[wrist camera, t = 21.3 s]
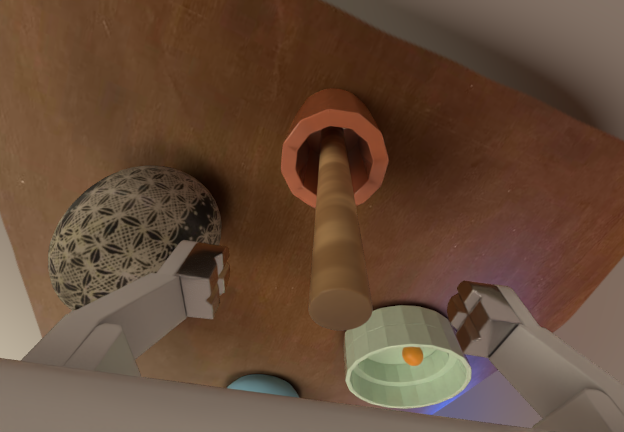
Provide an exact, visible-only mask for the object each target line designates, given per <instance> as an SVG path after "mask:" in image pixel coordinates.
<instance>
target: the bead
mask: <svg viewBox="0 0 624 432" xmlns="http://www.w3.org/2000/svg"><path fill="white" fill-rule="evenodd" d="M402 357H403V359H404V361H405V362H406V363H407V364H409V365H411V366H418V365H420V364H421V363H422V361H423V352H422V350H421V348H420V347H404V348H403V350H402Z"/></svg>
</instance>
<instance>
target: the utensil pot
mask: <svg viewBox="0 0 624 432" xmlns="http://www.w3.org/2000/svg"><path fill="white" fill-rule="evenodd" d="M329 126H334V127H341V128H343V132H344V138H345V144H346V150H347V156H348V162H349V168H350V174H351V180H352V186H353V192H354V198H355V204H356V205H360V204H362V203H364V202H365V201H366V200H367V199H368V198H369V197H370V196H371V195H372V194H373V193H374V192H375V191H376V190H377V189H378V188H379V187H380V186H381V185H382V182H383V179H384V176H385V172H386V169H387V166H388V162H389V157H388V153H387V150H386V146H385V143H384V139H383V135H382V133H381V131H380V129H379V128H378V126H377V124H376V123H375V121H374V119H373V117H372V116H371V114H370V112H369V110H368V109H367V107H366V105H364V104H363V103H362V102H361V101H360V100H359V99H358V98H357V97H356V96H355V95H353V94H352V93H351V92H349V91H345V90H341V89H325V90H322V91H319V92H317V93H315V94H313V95H312V96H310V97H309V98H307V100H306V101H305V102H304V103H303V105H302V106H301V108H300V109H299V111H298V112H297V114H296V115H295V118H294V120H293V122H292V125H291V127H290V129H289V131H288V134H287V136H286V138H285V141H284V143H283V147H282V160H281V172H282V174H283V176H284V178H285V180H286V182H287V184H288V186H289V188H290V190H291V192H292V193H293V194H294V195H295V196H297V197H298V198H299V199H301V200H302V201H304V202H305V203H307V204H308V205H310V206H311V207H313V208H316V199H317V186H318V172H319V159H320V145H321V131H322V129H324V128H326V127H329Z"/></svg>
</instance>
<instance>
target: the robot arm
mask: <svg viewBox="0 0 624 432" xmlns="http://www.w3.org/2000/svg"><path fill="white" fill-rule="evenodd" d="M228 258H229V248H228V247H226V246H220V245H214V244H208V243H202V242H194V241H188V240H183V241H181V242H180V243H179V244H178V245H177V247H176V248H175V249H174V251H173V252H172V253H171V255H170V256H169V257H168V259H167V260H166V261H165V263H164V264H163V265H162V266H161V268H160V269H159V270H158V272H157V273H150V274H148V275H146V276H144V277H142V278H140V279H138V280H136V281H134V282H132V283H130V284H128V285H126V286H124V287H122V288H120V289H118V290H116V291H114V292H112V293H109V294H107V295H105V296H103V297H101V298H99V299H97V300H95V301H93V302H91V303H89V304H87V305H85V306H83V307H81V308H79V309H77V310H75V311H73V312H71V313H69V314H67V315H65V316H64V317H63V318H62V319H61V320H60V321H59V322H58V323H57V324H56V325H55V326H54V327H53V328H52V329H51V330H50V331H49V332H48V333H47V334H46V335H45V336H44V337H43V338H42V339H41V340H40V342H38V344H37V345H36V346H35V347H34V348H33V349H32V350H31V351H30V352H29V353H28V354H27V355H26V356H25V357H24V358H23V359H22V360H21V361H18V360H11V359H2V358H0V432H624V384H622V383H621V382H620V381H618V380H617V379H615V378H614V377H612V376H611V375H610V374H608V373H607V372H606V371H604V370H603V369H601V368H600V367H599V366H597V365H596V364H594V363H593V362H592V361H590V360H589V359H587V358H586V357H585V356H583V355H582V354H581V353H579V352H578V351H576V350H575V349H574V348H572V347H571V346H569V345H568V344H567V343H565V342H564V341H562V340H561V339H560V338H558V337H557V336H556V335H554V334H553V333H551V332H550V331H549V330H547V329H546V328H542V327H540V326H539V325H538V323H537V322H536V321H535V319H534V318H533V317H532V315H531V314H530V312H529V311H528V310H527V308H526V307H525V306H524V304H523V303H522V302H521V300H520V299H519V297H518V296H517V295H516V293H515V292H514V291H513V289H511V288H510V287H508V286H502V285H494V284H493V285H491V284H485V283H478V282H470V281H463V282H461V283H460V284H459V286H458V287H457V290H458V294H456V295H454V296H452V297H451V299H450V301H449V302H448V307H447V313H448V318H449V321H450V323H451V324H452V325H453V326H454V327H455V328H456V329H457V333H456V337H457V340H458V342H459V345H460V347H461V349H462V352H463V354H467V355H474V356H480V357H486V358H489V360H490V361H491V363H492V364H493V365H494V366H495V367H496V368H497V369H498V370H499V371H500V372H501V374H502V375H503V376H504V377H505V378H506V379H507V380H508V381H509V382H510V383H511V384H512V386H513V387H514V388H515V389H516V390H517V391H518V392H519V393H520V394H521V395H522V396H523V398H524V399H525V400H526V401H527V402H528V403H529V404H530V405H531V406H532V407H533V409H534V410H535V411H536V412H537V413H538V414H539V415H540V416H541V417H542V418H543V419H542V420H541V421H539V422H538V423H536V424H535V425H534V426H533V428H524V427H517V426H509V425H502V424H494V423H486V422H479V421H472V420H464V419H456V418H449V417H441V416H434V415H426V414H419V413H411V412H404V411H396V410H389V409H381V408H374V407H366V406H358V405H351V404H343V403H335V402H328V401H320V400H313V399H305V398H297V397H290V396H282V395H275V394H267V393H260V392H252V391H244V390H237V389H229V388H222V387H214V386H207V385H199V384H191V383H184V382H176V381H169V380H161V379H154V378H146V377H141V374H140V371H139V369H138V366H137V364H136V361H135V359H136V358H138V357H139V356H140V355H141V354H143V353H144V352H145V351H146V350H148V349H149V348H150V347H151V346H152V345H154V344H155V343H156V342H157V341H159V340H160V339H161V338H162V337H164V336H165V335H166V334H167V333H168V332H170V331H171V330H172V329H173V328H175V327H176V326H177V325H178V324H180V323H181V322H182V321H183V320H185V319H186V316H187V317H196V318H205V319H213V318H214V315H215V313H216V311H217V309H218V306H219V304H220V295H221V294H222V293H224V292H225V290H226V287H227V284H228V280H229V276H230V265H229V264H228V263H227V260H228Z"/></svg>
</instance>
